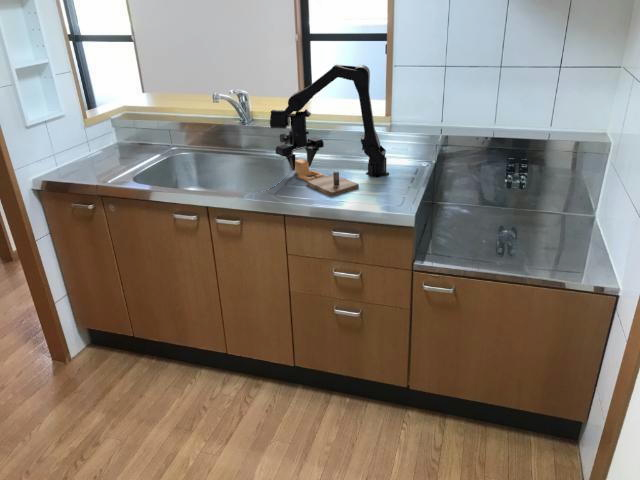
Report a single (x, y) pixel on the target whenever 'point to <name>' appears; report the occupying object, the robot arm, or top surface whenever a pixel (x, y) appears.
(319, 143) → the robot arm
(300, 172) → the ring link
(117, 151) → the top surface
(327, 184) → the post stand
